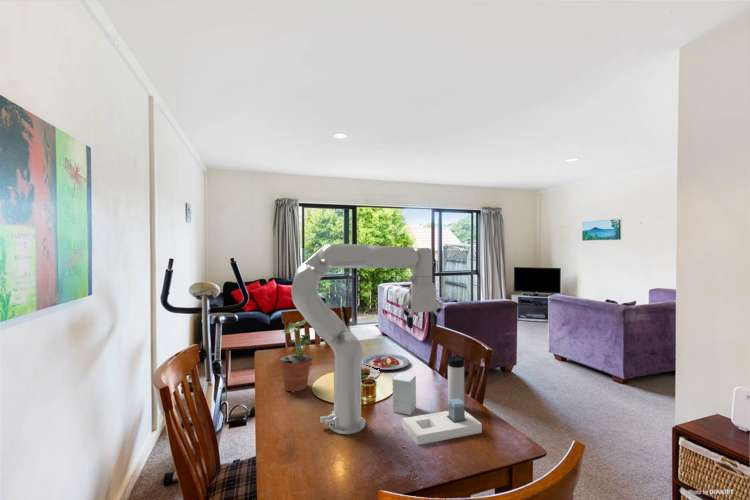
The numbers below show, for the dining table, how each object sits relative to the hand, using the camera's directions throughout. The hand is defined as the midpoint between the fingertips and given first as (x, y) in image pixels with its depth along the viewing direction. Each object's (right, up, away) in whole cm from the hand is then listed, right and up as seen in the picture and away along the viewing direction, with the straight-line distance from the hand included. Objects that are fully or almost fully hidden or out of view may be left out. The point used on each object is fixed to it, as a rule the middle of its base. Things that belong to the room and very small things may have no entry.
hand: (421, 326), depth 128 cm
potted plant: (-54, -34, +27) cm, 69 cm away
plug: (+11, -33, -8) cm, 36 cm away
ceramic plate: (-12, -34, +59) cm, 69 cm away
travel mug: (+15, -34, +7) cm, 37 cm away
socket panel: (+5, -33, -10) cm, 35 cm away
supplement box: (-6, -34, +5) cm, 34 cm away
